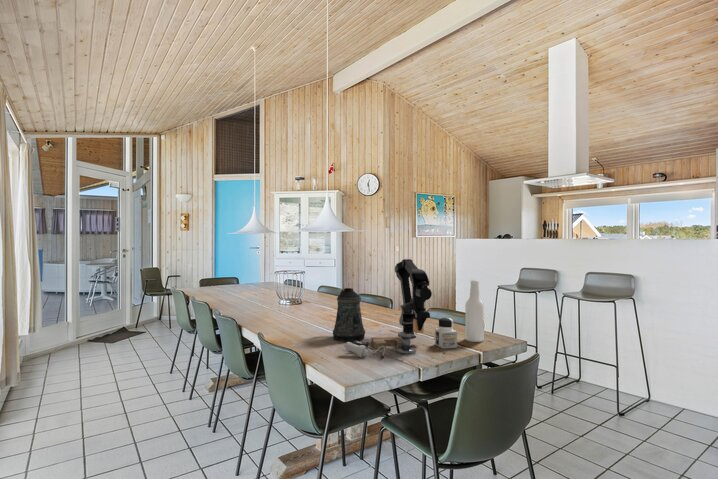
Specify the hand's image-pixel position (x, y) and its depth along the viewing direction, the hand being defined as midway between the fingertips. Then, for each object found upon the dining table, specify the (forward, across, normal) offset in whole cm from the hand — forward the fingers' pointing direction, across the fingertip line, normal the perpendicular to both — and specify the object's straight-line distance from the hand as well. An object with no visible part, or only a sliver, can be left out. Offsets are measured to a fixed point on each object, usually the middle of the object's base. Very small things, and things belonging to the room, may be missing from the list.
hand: (418, 329), depth 191 cm
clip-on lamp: (+7, +16, -27) cm, 32 cm away
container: (+7, +5, +12) cm, 15 cm away
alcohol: (+7, -4, +30) cm, 31 cm away
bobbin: (+7, +12, -9) cm, 16 cm away
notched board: (+7, 0, -14) cm, 16 cm away
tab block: (+1, 0, 0) cm, 1 cm away
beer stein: (+7, -16, -33) cm, 37 cm away
